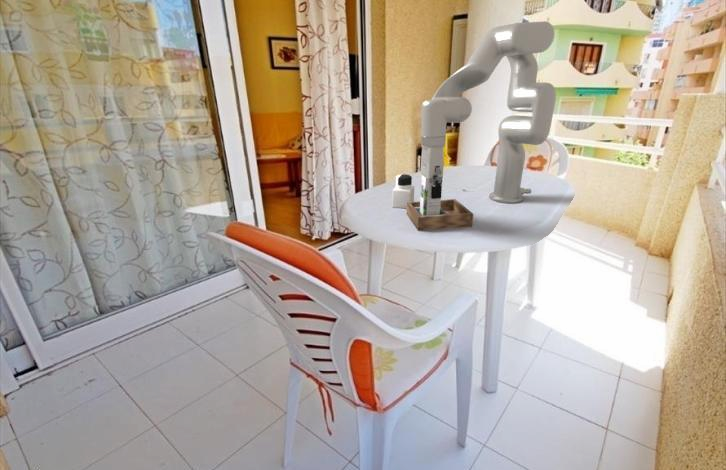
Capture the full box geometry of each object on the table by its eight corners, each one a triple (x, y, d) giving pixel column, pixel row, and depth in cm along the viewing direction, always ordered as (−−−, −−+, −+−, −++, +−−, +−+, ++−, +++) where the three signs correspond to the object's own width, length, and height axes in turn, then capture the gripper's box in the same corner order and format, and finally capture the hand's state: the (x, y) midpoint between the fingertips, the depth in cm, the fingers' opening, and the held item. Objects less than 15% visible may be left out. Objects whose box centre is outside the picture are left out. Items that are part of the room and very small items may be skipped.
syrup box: (419, 215, 118) (420, 174, 113) (435, 214, 119) (437, 173, 113) (423, 221, 113) (424, 178, 107) (440, 220, 114) (443, 177, 108)
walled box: (454, 210, 125) (455, 199, 123) (471, 226, 110) (473, 213, 108) (406, 214, 123) (406, 202, 121) (417, 230, 108) (418, 217, 107)
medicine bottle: (414, 203, 134) (414, 173, 130) (410, 209, 128) (411, 178, 123) (396, 202, 137) (396, 172, 132) (392, 207, 130) (392, 177, 126)
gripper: (414, 138, 113) (414, 187, 120) (429, 146, 98) (428, 202, 105) (436, 136, 114) (434, 185, 121) (454, 145, 98) (451, 200, 105)
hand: (431, 193), depth 113 cm, fingers open, 9 cm apart
